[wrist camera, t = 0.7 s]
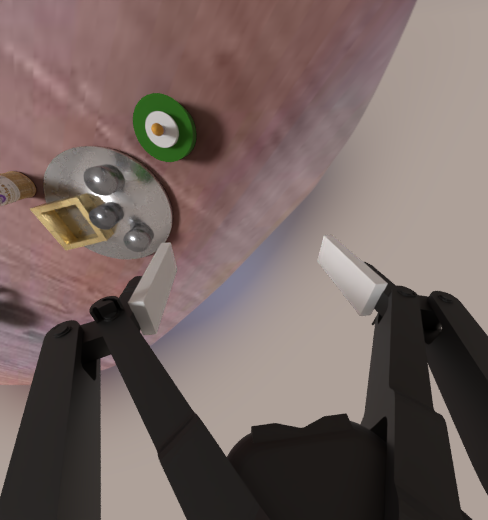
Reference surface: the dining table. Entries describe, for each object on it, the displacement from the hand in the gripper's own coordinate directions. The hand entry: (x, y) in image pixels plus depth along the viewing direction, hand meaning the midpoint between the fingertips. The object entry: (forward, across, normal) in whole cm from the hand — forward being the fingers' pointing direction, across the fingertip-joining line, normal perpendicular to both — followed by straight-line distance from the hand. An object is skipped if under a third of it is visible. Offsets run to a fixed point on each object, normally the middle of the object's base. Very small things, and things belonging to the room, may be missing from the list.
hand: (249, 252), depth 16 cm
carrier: (+26, -24, -4) cm, 35 cm away
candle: (+26, -10, +9) cm, 30 cm away
